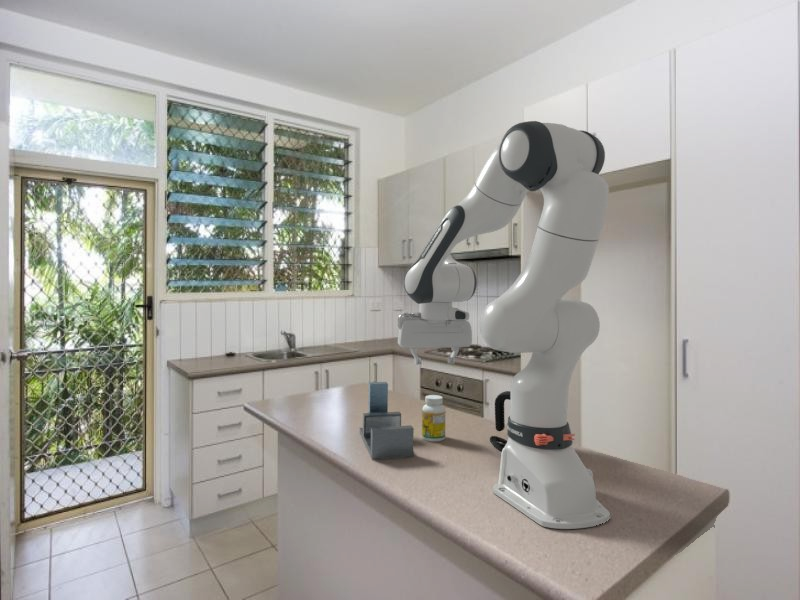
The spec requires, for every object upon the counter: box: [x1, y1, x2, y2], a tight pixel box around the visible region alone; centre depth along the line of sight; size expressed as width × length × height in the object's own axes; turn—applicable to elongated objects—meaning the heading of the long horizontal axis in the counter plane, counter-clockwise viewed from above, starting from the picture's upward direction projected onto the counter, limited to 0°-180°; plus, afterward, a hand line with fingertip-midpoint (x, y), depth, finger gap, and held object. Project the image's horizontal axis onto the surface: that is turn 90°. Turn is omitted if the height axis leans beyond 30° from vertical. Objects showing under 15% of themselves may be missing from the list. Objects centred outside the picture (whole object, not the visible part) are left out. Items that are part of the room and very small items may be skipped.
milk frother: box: [489, 390, 511, 453], centre depth 114 cm, size 14×16×15 cm
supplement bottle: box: [421, 394, 447, 443], centre depth 122 cm, size 6×6×11 cm
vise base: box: [359, 424, 414, 461], centre depth 116 cm, size 20×10×7 cm, turn 14°
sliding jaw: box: [362, 381, 402, 436], centre depth 122 cm, size 9×10×12 cm
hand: (434, 363), depth 121 cm, fingers open, 8 cm apart
